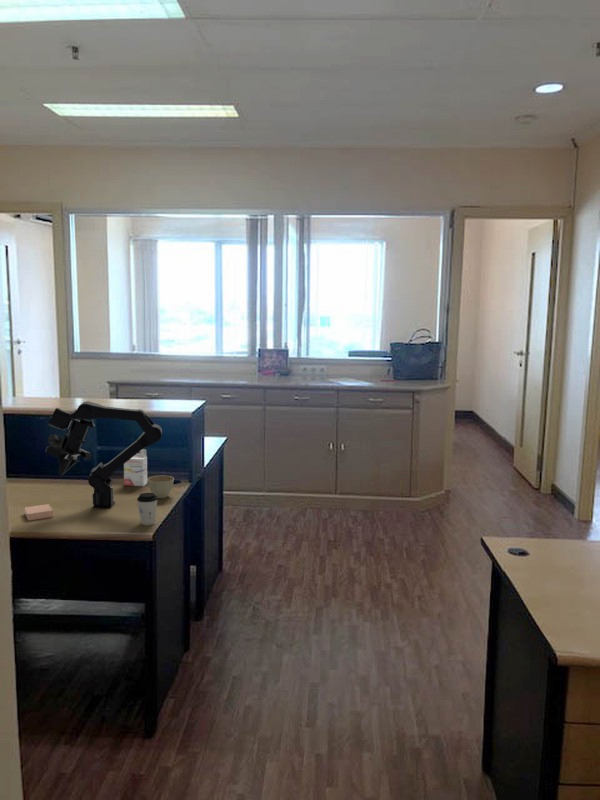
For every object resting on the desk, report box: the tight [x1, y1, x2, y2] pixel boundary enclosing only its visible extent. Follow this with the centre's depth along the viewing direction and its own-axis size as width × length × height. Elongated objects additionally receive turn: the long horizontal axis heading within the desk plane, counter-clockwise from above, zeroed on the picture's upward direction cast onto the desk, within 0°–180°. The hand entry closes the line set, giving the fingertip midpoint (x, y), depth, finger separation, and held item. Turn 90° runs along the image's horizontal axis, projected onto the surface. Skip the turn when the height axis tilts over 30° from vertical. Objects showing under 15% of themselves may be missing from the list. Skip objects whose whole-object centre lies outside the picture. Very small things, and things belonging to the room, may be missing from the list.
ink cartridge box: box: [123, 448, 148, 487], centre depth 253 cm, size 9×5×15 cm, turn 84°
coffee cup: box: [136, 492, 159, 526], centre depth 207 cm, size 7×7×10 cm
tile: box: [24, 503, 54, 521], centre depth 214 cm, size 3×8×8 cm
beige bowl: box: [147, 475, 175, 499], centre depth 237 cm, size 10×10×7 cm
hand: (60, 475), depth 219 cm, fingers closed
